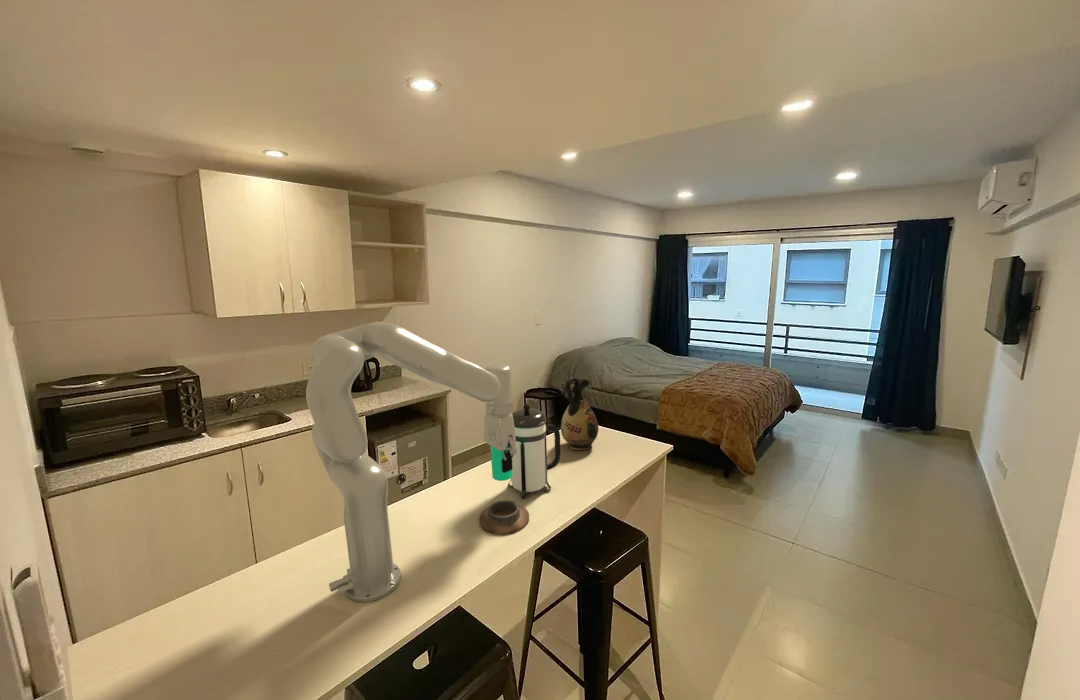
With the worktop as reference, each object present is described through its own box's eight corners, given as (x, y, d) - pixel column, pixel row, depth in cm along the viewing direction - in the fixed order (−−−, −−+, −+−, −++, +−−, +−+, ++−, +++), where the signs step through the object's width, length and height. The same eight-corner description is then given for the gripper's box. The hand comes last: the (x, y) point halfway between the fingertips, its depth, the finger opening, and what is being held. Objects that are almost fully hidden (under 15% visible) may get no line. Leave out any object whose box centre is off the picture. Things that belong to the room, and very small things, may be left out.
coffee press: (546, 503, 138) (544, 413, 132) (500, 496, 143) (496, 409, 137) (561, 478, 154) (560, 397, 148) (519, 472, 159) (516, 393, 154)
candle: (488, 476, 127) (485, 437, 125) (503, 469, 132) (501, 431, 129) (501, 483, 123) (500, 443, 121) (516, 475, 128) (515, 436, 125)
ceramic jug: (579, 435, 192) (578, 369, 186) (605, 446, 180) (606, 376, 174) (550, 446, 181) (549, 377, 175) (576, 458, 169) (576, 384, 164)
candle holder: (496, 541, 120) (495, 530, 119) (469, 517, 131) (469, 507, 131) (539, 521, 129) (539, 510, 128) (510, 500, 140) (510, 490, 140)
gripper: (472, 404, 128) (476, 461, 131) (504, 419, 115) (507, 482, 118) (494, 398, 132) (497, 454, 136) (527, 412, 119) (529, 474, 123)
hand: (501, 467), depth 127 cm, fingers closed on candle, 4 cm apart
